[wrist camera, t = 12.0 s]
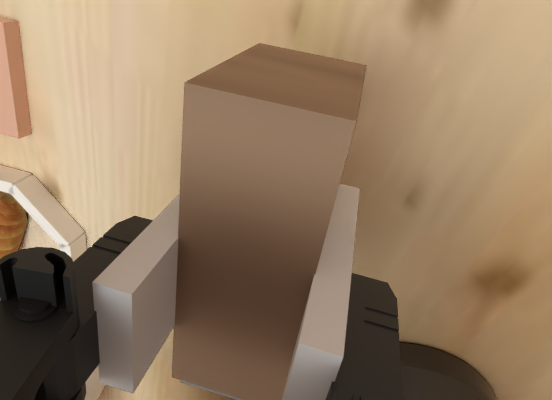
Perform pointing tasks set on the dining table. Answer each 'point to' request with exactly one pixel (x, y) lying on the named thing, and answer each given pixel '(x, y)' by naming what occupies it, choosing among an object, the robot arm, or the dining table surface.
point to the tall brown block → (256, 211)
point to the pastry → (11, 224)
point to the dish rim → (44, 210)
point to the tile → (12, 82)
